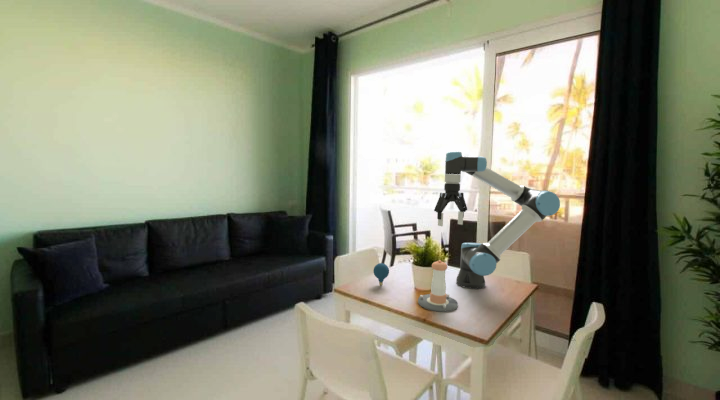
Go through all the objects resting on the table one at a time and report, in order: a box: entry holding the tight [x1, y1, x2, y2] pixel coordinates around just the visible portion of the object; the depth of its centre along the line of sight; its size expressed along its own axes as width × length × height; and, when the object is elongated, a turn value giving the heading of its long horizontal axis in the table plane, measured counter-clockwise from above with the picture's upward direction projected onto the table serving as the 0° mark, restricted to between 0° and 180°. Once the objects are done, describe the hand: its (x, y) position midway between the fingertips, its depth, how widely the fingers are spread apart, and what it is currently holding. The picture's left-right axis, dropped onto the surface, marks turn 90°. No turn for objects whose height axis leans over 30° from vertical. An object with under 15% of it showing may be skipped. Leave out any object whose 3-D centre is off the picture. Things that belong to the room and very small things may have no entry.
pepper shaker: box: [429, 259, 448, 304], centre depth 153 cm, size 7×7×19 cm
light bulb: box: [373, 262, 390, 286], centre depth 176 cm, size 8×8×12 cm
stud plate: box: [417, 293, 459, 313], centre depth 154 cm, size 18×18×3 cm
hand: (450, 225), depth 166 cm, fingers open, 13 cm apart
